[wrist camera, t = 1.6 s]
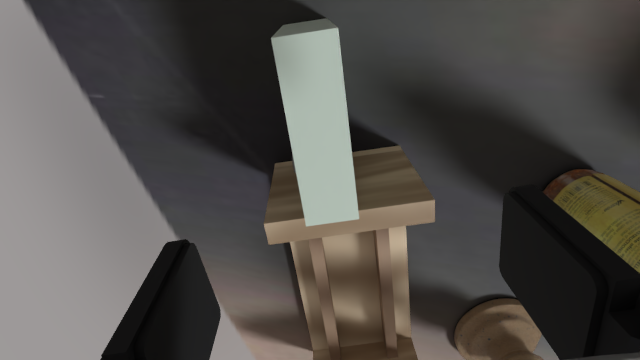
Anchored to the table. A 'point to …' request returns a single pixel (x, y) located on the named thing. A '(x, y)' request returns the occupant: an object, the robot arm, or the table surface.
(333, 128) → the rectangular block
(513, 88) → the table surface
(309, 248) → the track
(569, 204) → the sauce bottle
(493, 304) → the candle holder
